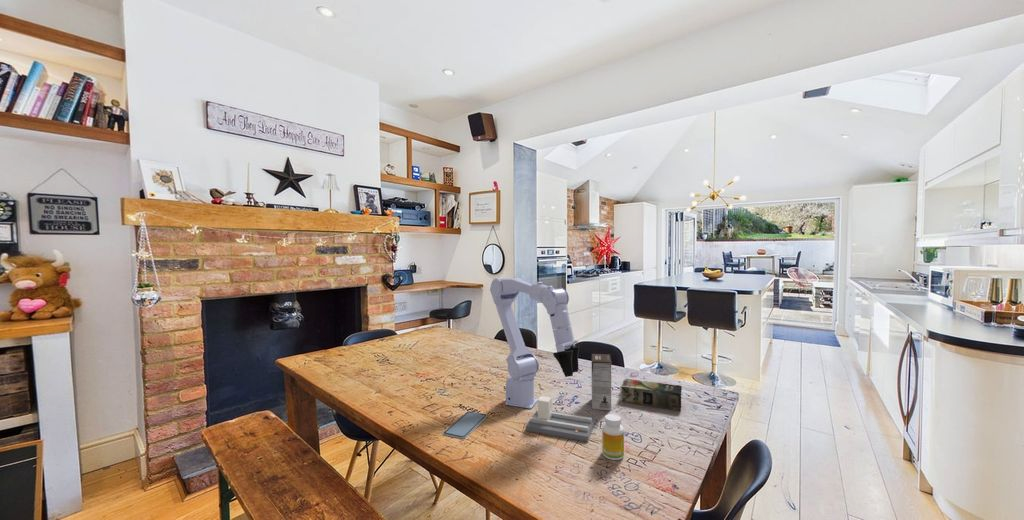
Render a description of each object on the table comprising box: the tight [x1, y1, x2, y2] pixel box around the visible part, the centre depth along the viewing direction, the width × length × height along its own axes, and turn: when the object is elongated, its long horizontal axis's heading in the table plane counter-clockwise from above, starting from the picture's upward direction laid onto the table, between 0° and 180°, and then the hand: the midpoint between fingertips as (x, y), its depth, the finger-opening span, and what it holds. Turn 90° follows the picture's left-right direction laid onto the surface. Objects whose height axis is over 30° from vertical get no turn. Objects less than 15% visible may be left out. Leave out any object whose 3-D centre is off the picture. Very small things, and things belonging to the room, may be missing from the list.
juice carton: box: [619, 378, 683, 412], centre depth 127 cm, size 20×10×6 cm, turn 64°
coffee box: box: [591, 353, 612, 411], centre depth 124 cm, size 9×6×16 cm
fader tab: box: [537, 395, 553, 420], centre depth 110 cm, size 3×4×6 cm
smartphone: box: [442, 410, 488, 440], centre depth 110 cm, size 7×1×15 cm
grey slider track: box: [525, 408, 596, 443], centre depth 109 cm, size 18×12×2 cm, turn 69°
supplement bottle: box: [601, 413, 625, 461], centre depth 93 cm, size 5×5×10 cm
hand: (572, 374), depth 108 cm, fingers open, 7 cm apart
